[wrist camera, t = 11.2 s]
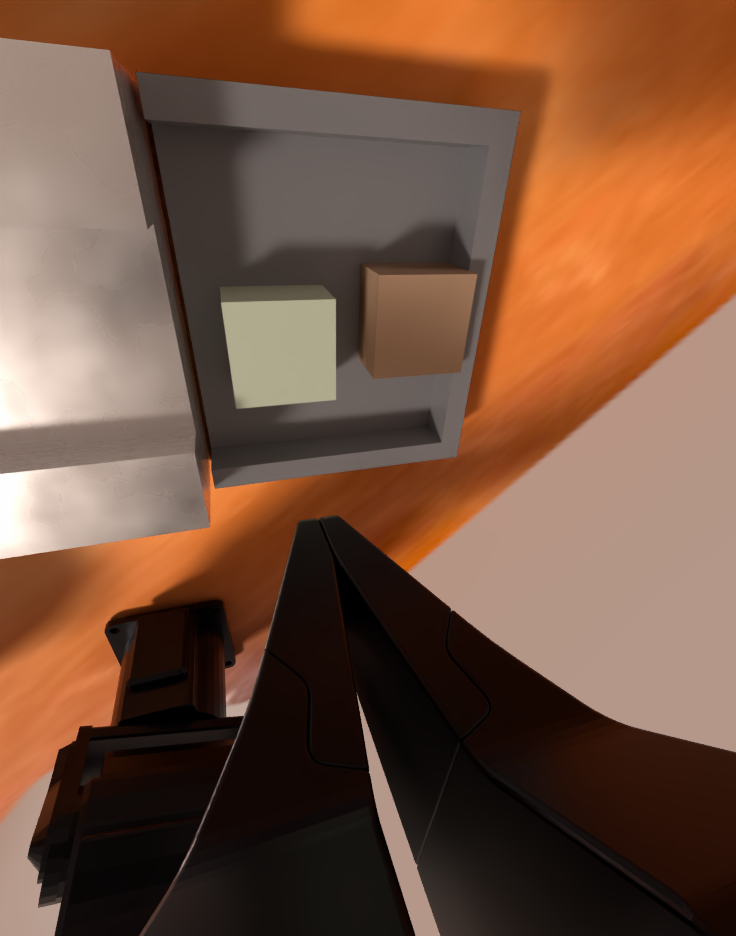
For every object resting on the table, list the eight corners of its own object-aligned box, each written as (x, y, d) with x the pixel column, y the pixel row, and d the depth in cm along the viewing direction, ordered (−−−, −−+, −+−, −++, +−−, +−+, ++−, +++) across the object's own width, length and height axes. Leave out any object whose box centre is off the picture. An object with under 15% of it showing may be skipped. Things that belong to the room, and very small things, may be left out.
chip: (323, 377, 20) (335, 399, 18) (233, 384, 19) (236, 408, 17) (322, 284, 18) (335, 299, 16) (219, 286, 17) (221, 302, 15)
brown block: (373, 378, 18) (357, 358, 20) (460, 372, 19) (437, 353, 21) (379, 275, 16) (360, 263, 18) (477, 274, 17) (449, 263, 19)
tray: (437, 434, 25) (456, 456, 23) (214, 460, 21) (215, 488, 20) (485, 117, 17) (520, 111, 15) (146, 85, 14) (135, 71, 12)
